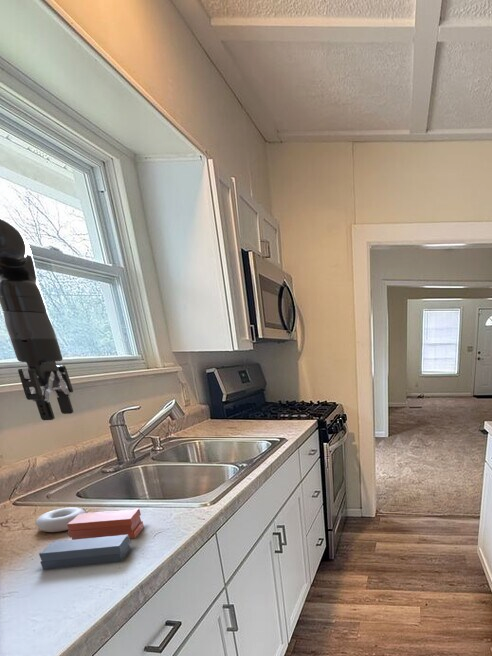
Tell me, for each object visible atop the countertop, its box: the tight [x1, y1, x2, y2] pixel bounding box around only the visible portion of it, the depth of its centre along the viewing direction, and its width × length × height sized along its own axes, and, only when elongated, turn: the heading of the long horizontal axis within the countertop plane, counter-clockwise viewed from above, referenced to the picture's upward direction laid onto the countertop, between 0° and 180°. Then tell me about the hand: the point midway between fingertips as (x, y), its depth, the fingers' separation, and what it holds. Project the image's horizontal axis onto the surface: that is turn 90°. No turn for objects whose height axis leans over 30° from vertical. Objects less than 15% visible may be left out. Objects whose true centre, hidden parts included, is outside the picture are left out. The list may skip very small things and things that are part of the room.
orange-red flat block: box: [67, 515, 145, 540], centre depth 92 cm, size 13×6×3 cm, turn 103°
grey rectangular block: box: [38, 535, 132, 571], centre depth 82 cm, size 14×5×4 cm, turn 103°
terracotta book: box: [67, 508, 142, 531], centre depth 91 cm, size 12×6×2 cm, turn 103°
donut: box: [35, 507, 87, 533], centre depth 97 cm, size 10×4×10 cm
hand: (58, 416), depth 89 cm, fingers open, 8 cm apart
